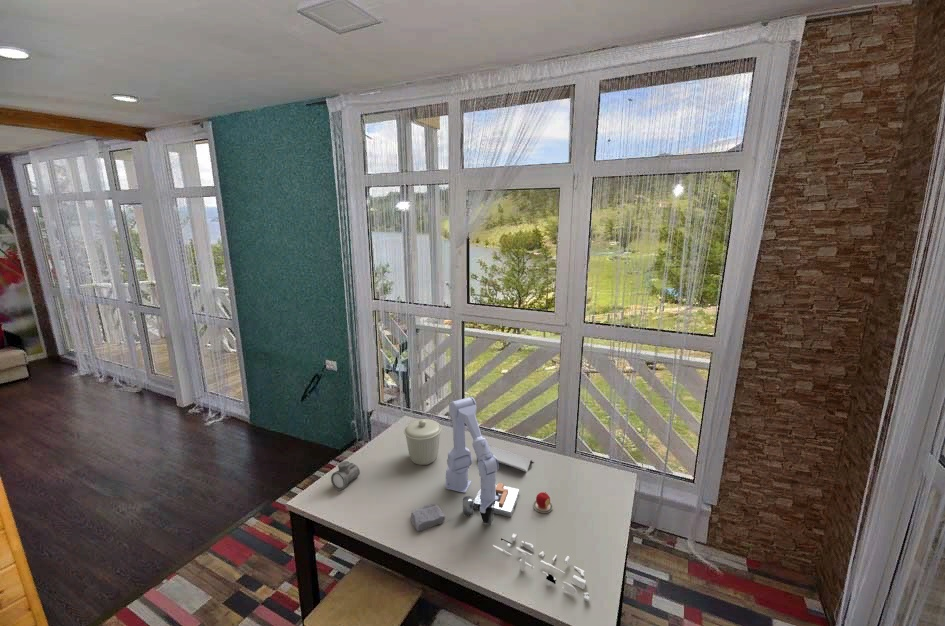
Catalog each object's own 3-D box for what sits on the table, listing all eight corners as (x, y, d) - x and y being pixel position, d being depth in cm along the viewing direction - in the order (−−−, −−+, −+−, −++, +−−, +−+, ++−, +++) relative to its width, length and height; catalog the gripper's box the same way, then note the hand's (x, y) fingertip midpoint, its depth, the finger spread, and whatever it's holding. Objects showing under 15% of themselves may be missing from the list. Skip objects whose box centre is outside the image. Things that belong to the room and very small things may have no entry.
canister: (397, 461, 198) (395, 422, 193) (422, 444, 213) (420, 407, 207) (425, 475, 188) (424, 434, 183) (449, 455, 203) (448, 417, 197)
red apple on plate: (553, 501, 171) (554, 488, 169) (551, 515, 163) (552, 501, 162) (534, 498, 173) (534, 485, 171) (531, 511, 165) (532, 498, 164)
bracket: (483, 501, 167) (483, 499, 167) (492, 483, 178) (492, 481, 178) (502, 506, 165) (502, 503, 165) (510, 487, 176) (510, 485, 176)
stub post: (461, 514, 164) (461, 502, 162) (465, 507, 168) (464, 494, 166) (471, 517, 162) (471, 504, 161) (475, 509, 166) (475, 497, 165)
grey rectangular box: (482, 523, 159) (482, 506, 157) (485, 517, 163) (485, 500, 160) (490, 525, 158) (490, 508, 156) (493, 519, 161) (493, 502, 159)
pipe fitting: (344, 492, 176) (342, 470, 175) (330, 488, 180) (329, 466, 179) (363, 479, 187) (362, 458, 186) (350, 475, 191) (349, 455, 189)
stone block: (409, 521, 163) (417, 534, 155) (408, 509, 163) (416, 521, 154) (436, 512, 169) (446, 523, 160) (435, 500, 169) (445, 511, 160)
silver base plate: (473, 507, 168) (473, 502, 167) (483, 486, 180) (483, 481, 180) (510, 517, 162) (511, 511, 162) (519, 494, 175) (519, 489, 175)
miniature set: (489, 554, 144) (504, 536, 155) (586, 609, 127) (596, 584, 137) (491, 538, 143) (507, 521, 154) (590, 591, 126) (600, 567, 136)
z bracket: (484, 459, 207) (488, 446, 210) (530, 474, 195) (534, 461, 197) (475, 452, 198) (480, 440, 200) (523, 469, 185) (527, 455, 188)
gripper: (492, 500, 148) (492, 531, 152) (503, 476, 162) (502, 505, 165) (474, 496, 151) (474, 527, 154) (486, 472, 164) (486, 501, 167)
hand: (488, 515), depth 160 cm, fingers open, 6 cm apart
